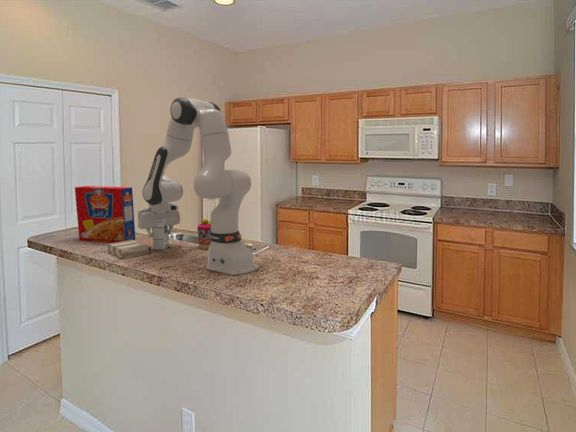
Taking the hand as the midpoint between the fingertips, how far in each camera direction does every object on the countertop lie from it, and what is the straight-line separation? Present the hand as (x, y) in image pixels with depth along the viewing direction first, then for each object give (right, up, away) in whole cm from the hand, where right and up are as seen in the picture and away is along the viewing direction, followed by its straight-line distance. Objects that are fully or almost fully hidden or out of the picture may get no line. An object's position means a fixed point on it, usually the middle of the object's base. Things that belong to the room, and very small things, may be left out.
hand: (160, 235), depth 185 cm
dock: (-12, -8, -8) cm, 16 cm away
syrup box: (0, -6, +1) cm, 6 cm away
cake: (+23, -6, +4) cm, 24 cm away
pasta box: (-33, -4, +16) cm, 37 cm away
